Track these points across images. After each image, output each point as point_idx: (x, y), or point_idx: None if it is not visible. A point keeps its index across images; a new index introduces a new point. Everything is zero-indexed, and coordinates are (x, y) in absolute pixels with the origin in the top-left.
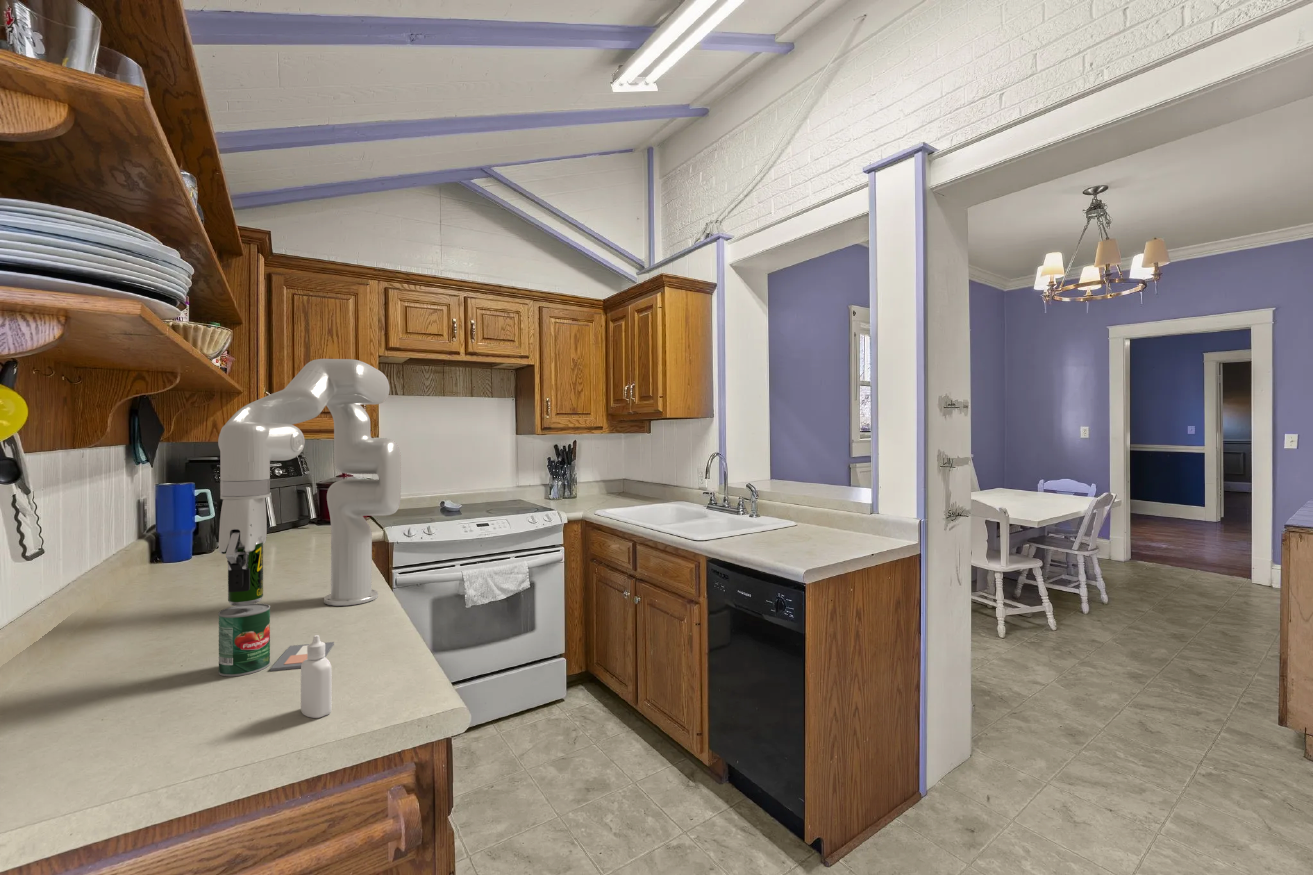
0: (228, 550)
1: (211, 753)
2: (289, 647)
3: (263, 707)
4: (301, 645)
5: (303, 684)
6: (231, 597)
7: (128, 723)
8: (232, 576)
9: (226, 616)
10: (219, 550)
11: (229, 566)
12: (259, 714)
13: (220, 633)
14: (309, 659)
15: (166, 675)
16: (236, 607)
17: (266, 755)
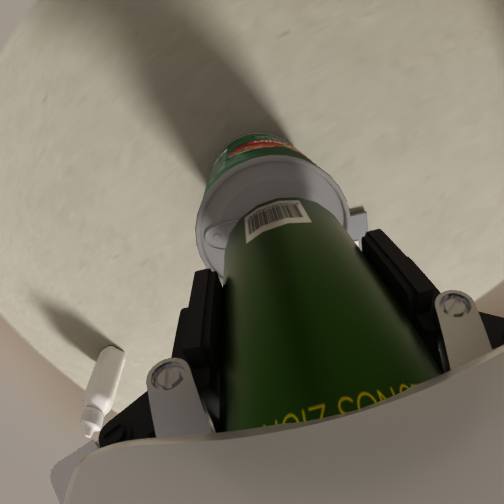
0: (63, 500)
1: (22, 304)
2: (356, 217)
3: (105, 303)
4: (363, 234)
5: (90, 379)
6: (229, 244)
7: (37, 152)
8: (175, 346)
9: (196, 220)
10: (73, 472)
11: (150, 390)
12: (89, 308)
13: (213, 174)
14: (84, 408)
15: (225, 38)
16: (322, 178)
17: (39, 347)
